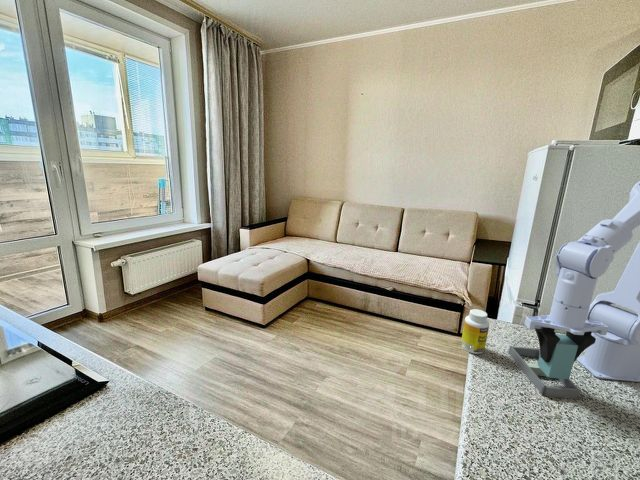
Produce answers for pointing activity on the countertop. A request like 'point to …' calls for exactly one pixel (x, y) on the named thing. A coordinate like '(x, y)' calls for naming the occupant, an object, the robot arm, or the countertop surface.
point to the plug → (560, 359)
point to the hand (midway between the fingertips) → (556, 360)
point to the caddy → (534, 371)
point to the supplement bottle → (475, 332)
